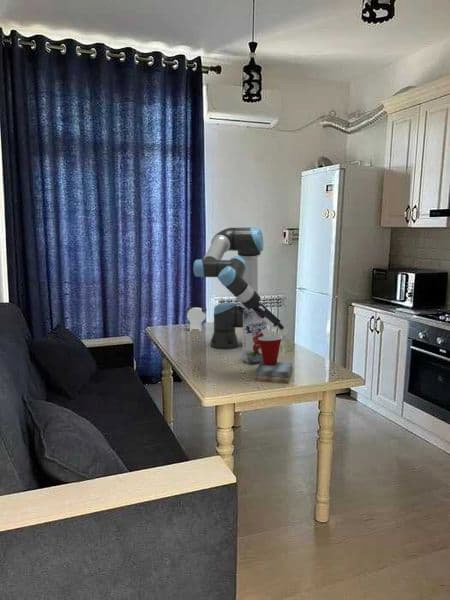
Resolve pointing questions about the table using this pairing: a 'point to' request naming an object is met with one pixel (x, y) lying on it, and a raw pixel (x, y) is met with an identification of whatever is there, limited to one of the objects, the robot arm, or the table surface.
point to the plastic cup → (270, 348)
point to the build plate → (273, 379)
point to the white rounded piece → (196, 317)
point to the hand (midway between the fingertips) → (280, 329)
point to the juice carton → (252, 336)
